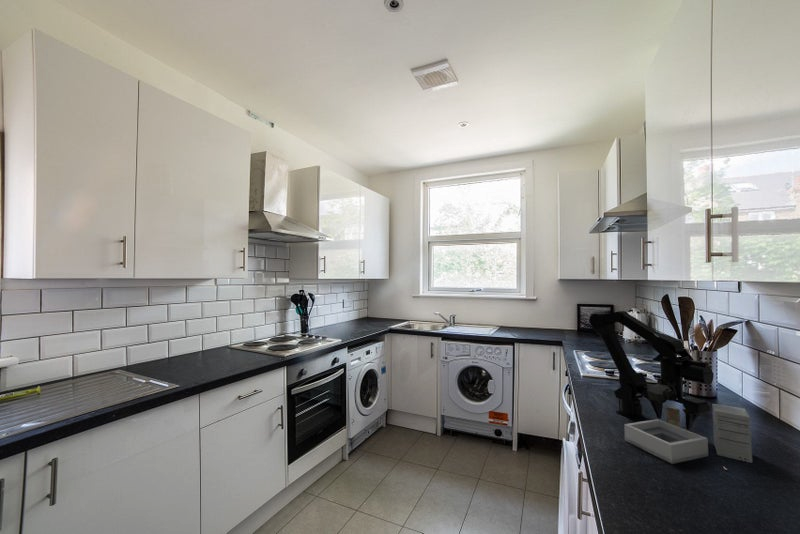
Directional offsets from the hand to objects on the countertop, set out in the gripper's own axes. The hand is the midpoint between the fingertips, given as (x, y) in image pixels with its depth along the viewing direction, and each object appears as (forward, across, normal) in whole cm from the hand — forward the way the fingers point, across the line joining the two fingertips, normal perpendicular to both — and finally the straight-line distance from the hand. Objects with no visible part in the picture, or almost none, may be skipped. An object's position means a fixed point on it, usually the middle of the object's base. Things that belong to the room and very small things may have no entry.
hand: (673, 423), depth 112 cm
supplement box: (+2, +16, 0) cm, 16 cm away
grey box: (+2, +8, -15) cm, 17 cm away
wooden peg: (+2, 0, 0) cm, 2 cm away
